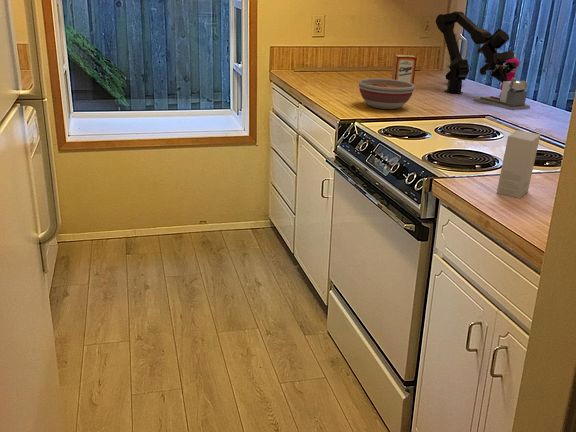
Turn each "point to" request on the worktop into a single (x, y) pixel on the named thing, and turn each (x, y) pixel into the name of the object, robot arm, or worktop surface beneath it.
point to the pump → (505, 90)
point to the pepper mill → (512, 73)
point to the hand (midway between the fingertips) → (506, 84)
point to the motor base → (509, 97)
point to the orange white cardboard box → (404, 68)
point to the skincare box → (518, 163)
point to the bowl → (385, 92)
